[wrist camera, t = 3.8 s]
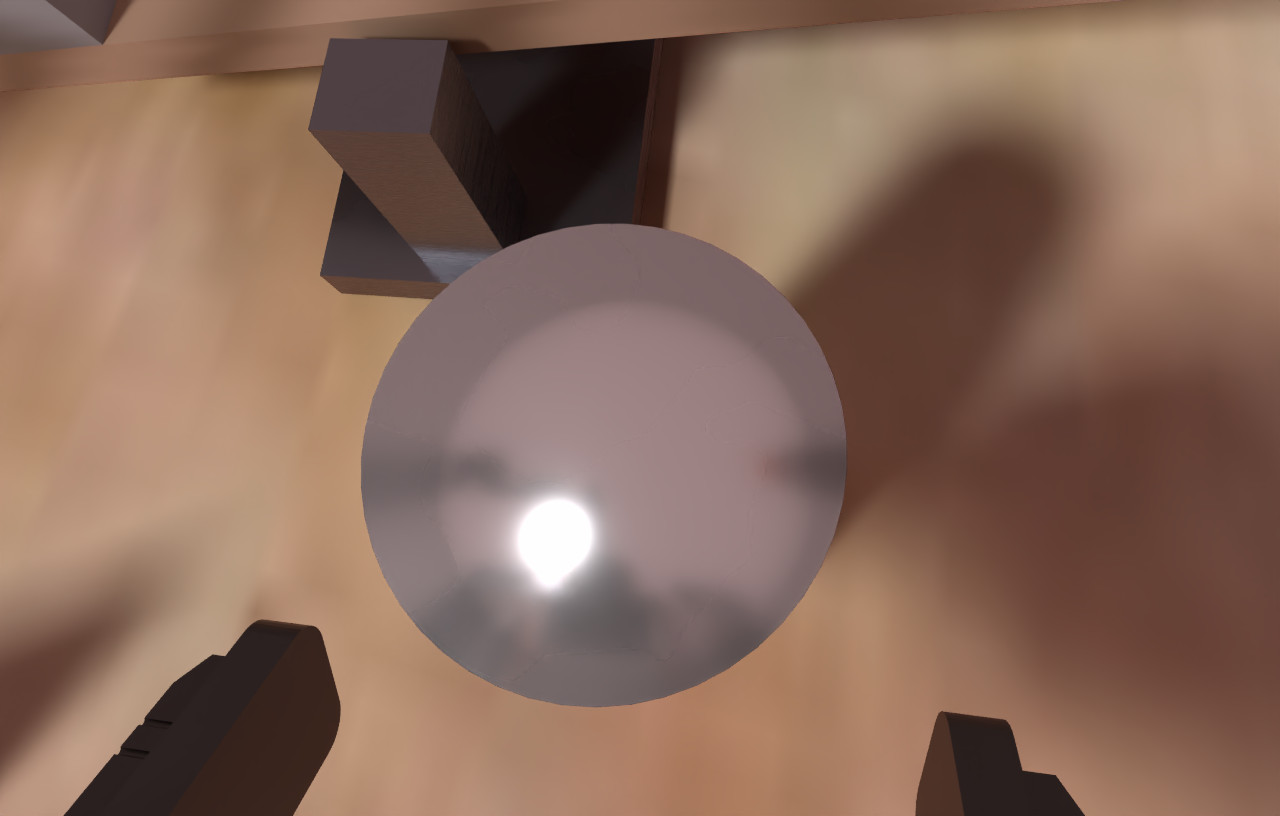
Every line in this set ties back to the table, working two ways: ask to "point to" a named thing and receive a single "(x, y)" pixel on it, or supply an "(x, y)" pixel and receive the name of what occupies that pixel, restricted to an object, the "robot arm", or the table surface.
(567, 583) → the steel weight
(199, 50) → the balance beam
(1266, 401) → the table surface
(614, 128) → the fulcrum stand
